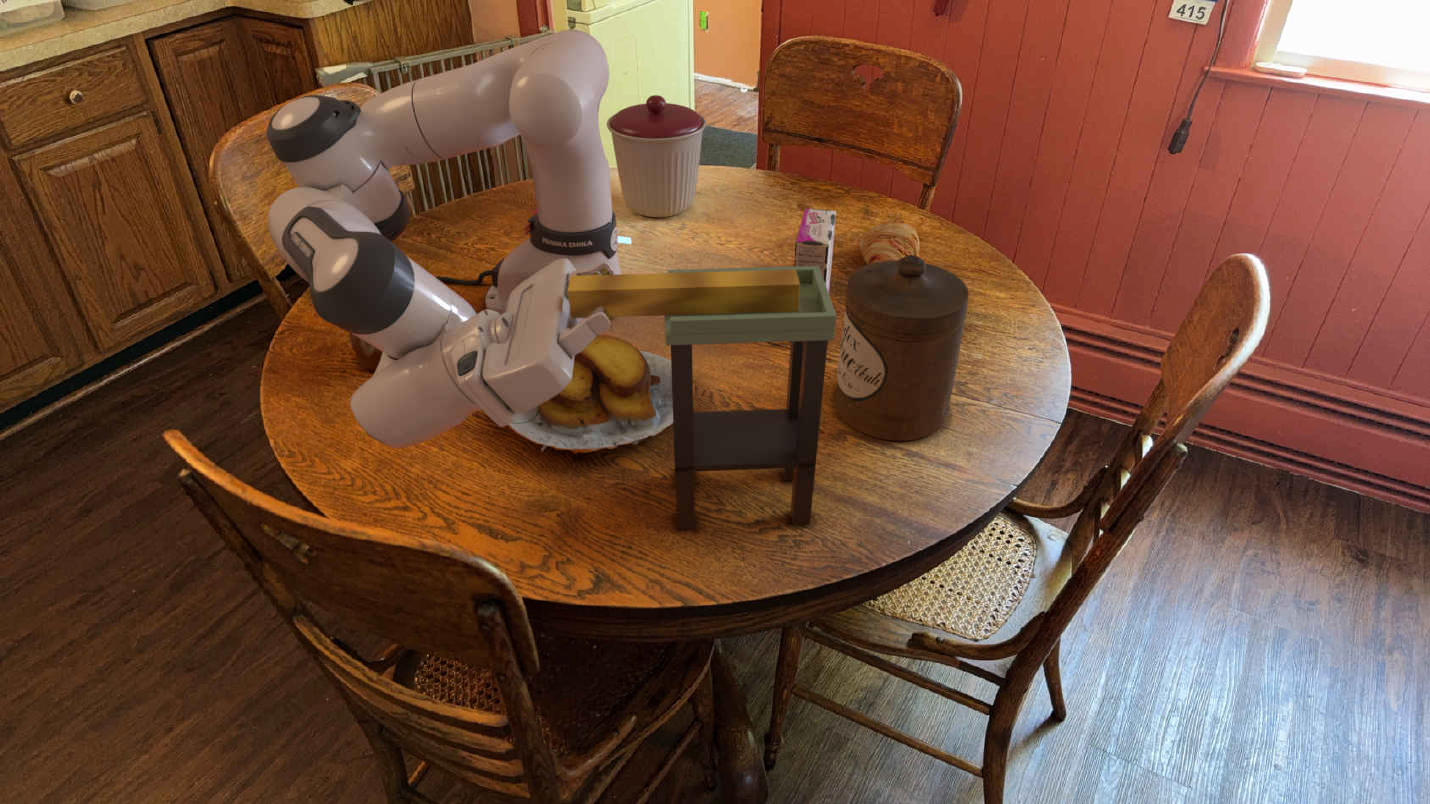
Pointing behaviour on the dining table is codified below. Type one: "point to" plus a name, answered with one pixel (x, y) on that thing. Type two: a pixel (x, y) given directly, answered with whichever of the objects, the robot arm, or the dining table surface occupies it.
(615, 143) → the canister
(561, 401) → the food on plate
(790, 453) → the stand
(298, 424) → the dining table surface
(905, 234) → the croissant
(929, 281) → the wooden container
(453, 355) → the robot arm
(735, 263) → the dining table surface
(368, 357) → the mug
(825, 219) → the candy bar box
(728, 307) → the batten
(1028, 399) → the dining table surface
